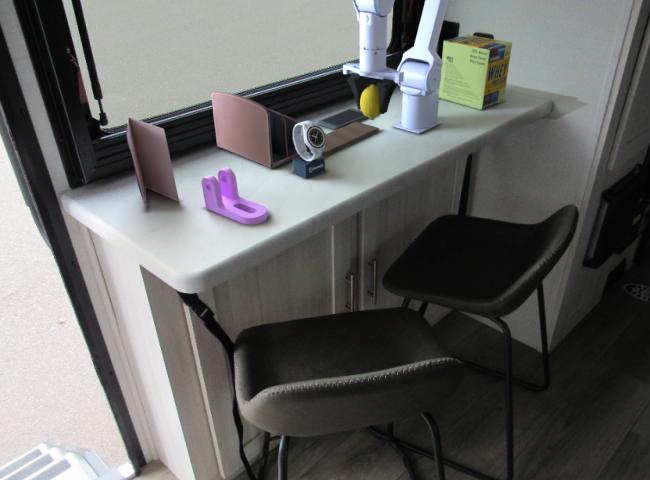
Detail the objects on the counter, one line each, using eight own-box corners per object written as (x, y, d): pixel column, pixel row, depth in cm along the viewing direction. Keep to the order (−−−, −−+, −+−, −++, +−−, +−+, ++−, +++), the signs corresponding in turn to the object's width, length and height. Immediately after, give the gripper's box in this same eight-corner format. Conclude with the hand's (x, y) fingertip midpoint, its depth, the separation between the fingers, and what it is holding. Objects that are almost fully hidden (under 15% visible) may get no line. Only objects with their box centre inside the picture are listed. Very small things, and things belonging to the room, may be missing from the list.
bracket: (206, 208, 112) (200, 175, 108) (226, 197, 116) (221, 165, 112) (252, 227, 106) (248, 193, 102) (273, 215, 109) (269, 182, 105)
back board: (356, 125, 147) (356, 121, 147) (378, 131, 143) (378, 127, 143) (302, 148, 136) (301, 144, 135) (325, 156, 132) (324, 152, 131)
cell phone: (372, 116, 152) (372, 113, 152) (336, 130, 144) (336, 127, 144) (351, 110, 156) (351, 107, 156) (316, 124, 148) (316, 121, 148)
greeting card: (141, 187, 121) (123, 117, 112) (176, 182, 122) (162, 112, 113) (141, 211, 112) (122, 137, 103) (179, 205, 113) (164, 132, 104)
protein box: (482, 110, 154) (490, 49, 145) (437, 98, 163) (442, 40, 154) (504, 101, 159) (513, 42, 150) (460, 90, 169) (466, 33, 159)
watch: (311, 181, 121) (309, 131, 114) (288, 170, 126) (284, 121, 119) (331, 173, 124) (330, 124, 117) (307, 163, 129) (305, 114, 122)
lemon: (382, 124, 128) (383, 88, 123) (358, 123, 129) (358, 87, 124) (385, 116, 132) (386, 81, 127) (362, 115, 133) (362, 80, 128)
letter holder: (271, 169, 126) (265, 106, 118) (216, 147, 137) (207, 87, 129) (303, 155, 132) (299, 94, 124) (248, 135, 143) (241, 77, 135)
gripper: (334, 46, 122) (336, 109, 130) (392, 55, 115) (390, 121, 123) (352, 39, 126) (353, 101, 135) (409, 47, 120) (406, 112, 128)
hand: (372, 110), depth 129 cm, fingers closed on lemon, 5 cm apart
